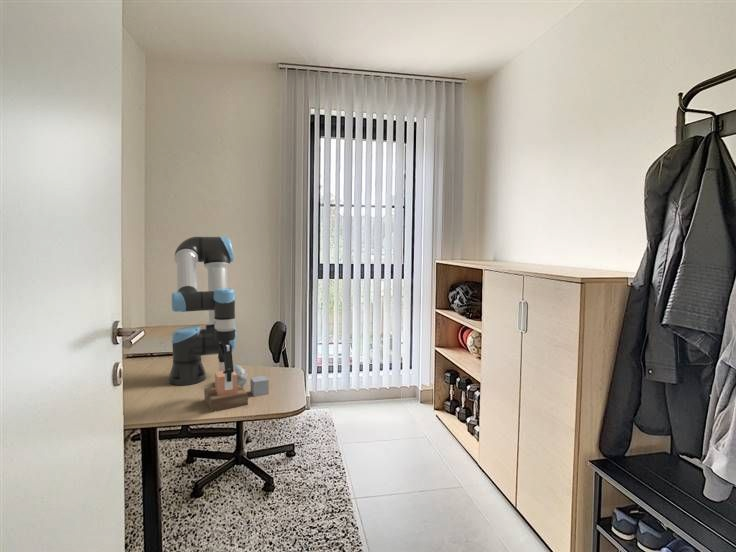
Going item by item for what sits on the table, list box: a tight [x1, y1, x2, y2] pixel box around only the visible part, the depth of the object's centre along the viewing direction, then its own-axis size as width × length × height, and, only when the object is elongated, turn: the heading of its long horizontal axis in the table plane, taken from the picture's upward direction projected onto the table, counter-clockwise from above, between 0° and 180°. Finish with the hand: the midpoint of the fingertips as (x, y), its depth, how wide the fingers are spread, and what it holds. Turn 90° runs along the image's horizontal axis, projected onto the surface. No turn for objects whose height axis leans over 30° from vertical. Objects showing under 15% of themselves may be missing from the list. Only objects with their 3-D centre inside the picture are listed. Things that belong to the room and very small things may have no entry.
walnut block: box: [203, 383, 249, 413], centre depth 164 cm, size 13×13×5 cm
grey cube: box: [250, 375, 270, 397], centre depth 175 cm, size 6×6×6 cm
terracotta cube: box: [214, 370, 237, 396], centre depth 164 cm, size 7×7×7 cm
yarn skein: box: [233, 363, 248, 388], centre depth 184 cm, size 14×10×10 cm
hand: (225, 383), depth 164 cm, fingers open, 13 cm apart
